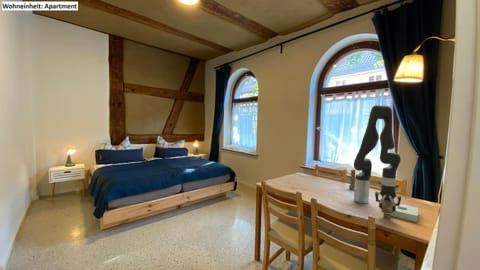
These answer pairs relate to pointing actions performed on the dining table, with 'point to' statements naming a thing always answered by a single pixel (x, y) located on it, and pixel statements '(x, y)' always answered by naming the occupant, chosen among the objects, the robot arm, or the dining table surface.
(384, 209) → the peg
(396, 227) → the dining table surface
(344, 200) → the dining table surface
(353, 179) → the wooden block
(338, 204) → the dining table surface
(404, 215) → the socket block
